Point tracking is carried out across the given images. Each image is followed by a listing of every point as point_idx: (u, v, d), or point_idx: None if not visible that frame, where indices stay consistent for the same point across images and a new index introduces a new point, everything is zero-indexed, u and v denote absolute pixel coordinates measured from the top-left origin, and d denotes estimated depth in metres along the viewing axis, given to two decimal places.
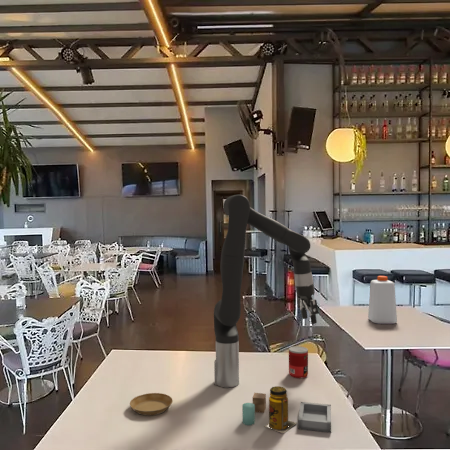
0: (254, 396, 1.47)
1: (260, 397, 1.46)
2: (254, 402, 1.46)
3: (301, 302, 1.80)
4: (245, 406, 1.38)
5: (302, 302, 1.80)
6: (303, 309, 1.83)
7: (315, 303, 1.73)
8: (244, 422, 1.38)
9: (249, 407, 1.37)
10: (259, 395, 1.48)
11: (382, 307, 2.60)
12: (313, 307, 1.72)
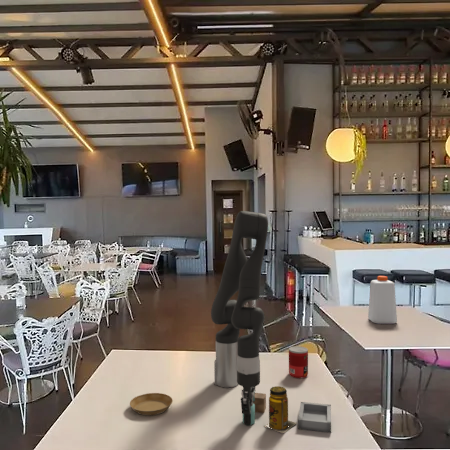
0: None
1: (260, 397, 1.46)
2: (254, 402, 1.46)
3: None
4: None
5: None
6: None
7: (246, 403, 1.32)
8: None
9: None
10: (259, 395, 1.48)
11: (382, 307, 2.60)
12: (243, 407, 1.33)
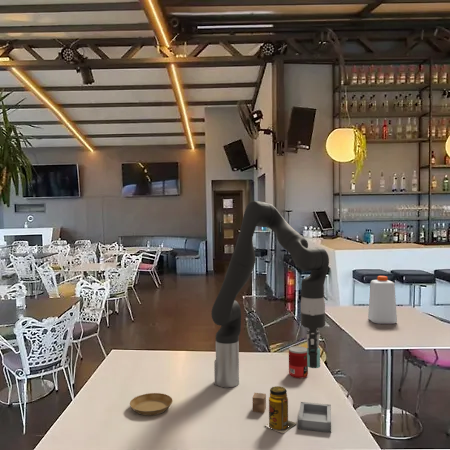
0: (254, 396, 1.47)
1: (260, 397, 1.46)
2: (254, 402, 1.46)
3: None
4: None
5: None
6: None
7: (314, 344, 1.29)
8: None
9: None
10: (259, 395, 1.48)
11: (382, 307, 2.60)
12: (310, 348, 1.30)
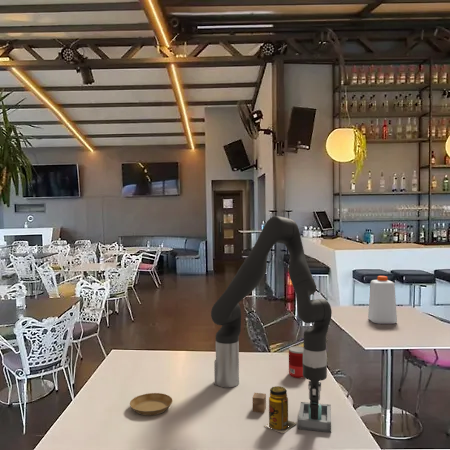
0: (254, 396, 1.47)
1: (260, 397, 1.46)
2: (254, 402, 1.46)
3: None
4: None
5: None
6: None
7: (316, 394, 1.29)
8: None
9: None
10: (259, 395, 1.48)
11: (382, 307, 2.60)
12: (312, 398, 1.30)
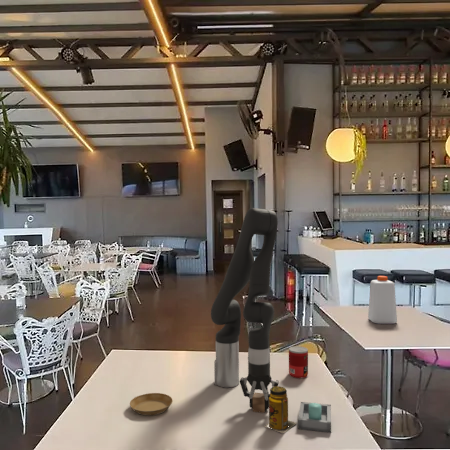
0: (254, 396, 1.47)
1: (260, 397, 1.46)
2: (254, 402, 1.46)
3: None
4: (312, 406, 1.36)
5: None
6: None
7: None
8: None
9: (316, 407, 1.35)
10: (259, 395, 1.48)
11: (382, 307, 2.60)
12: None
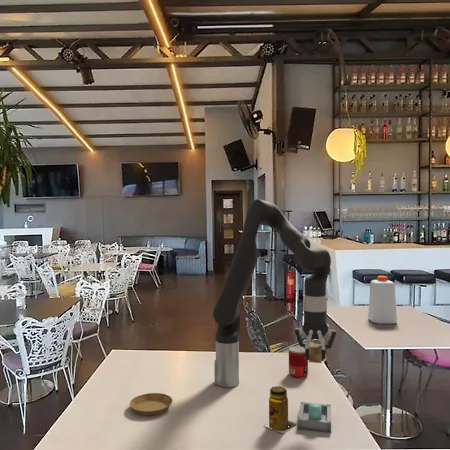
0: (310, 346, 1.41)
1: (317, 347, 1.41)
2: (311, 352, 1.41)
3: None
4: (312, 406, 1.36)
5: None
6: None
7: None
8: None
9: (316, 407, 1.35)
10: (315, 345, 1.42)
11: (382, 307, 2.60)
12: None
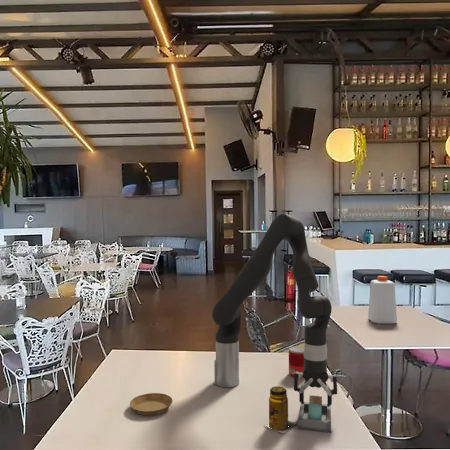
0: None
1: None
2: None
3: None
4: (312, 406, 1.36)
5: None
6: None
7: (294, 377, 1.44)
8: None
9: (316, 407, 1.35)
10: (315, 401, 1.40)
11: (382, 307, 2.60)
12: None
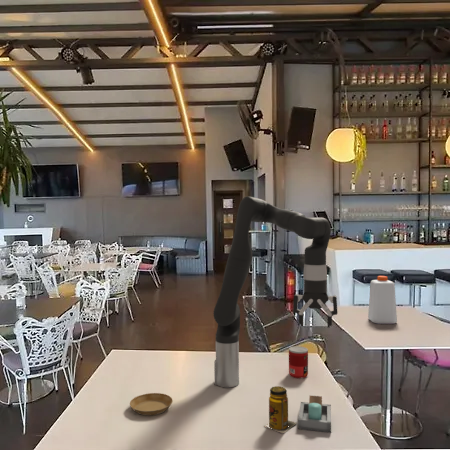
0: None
1: None
2: None
3: None
4: (312, 406, 1.36)
5: None
6: None
7: (294, 299, 1.43)
8: None
9: (316, 407, 1.35)
10: (315, 401, 1.40)
11: (382, 307, 2.60)
12: None
